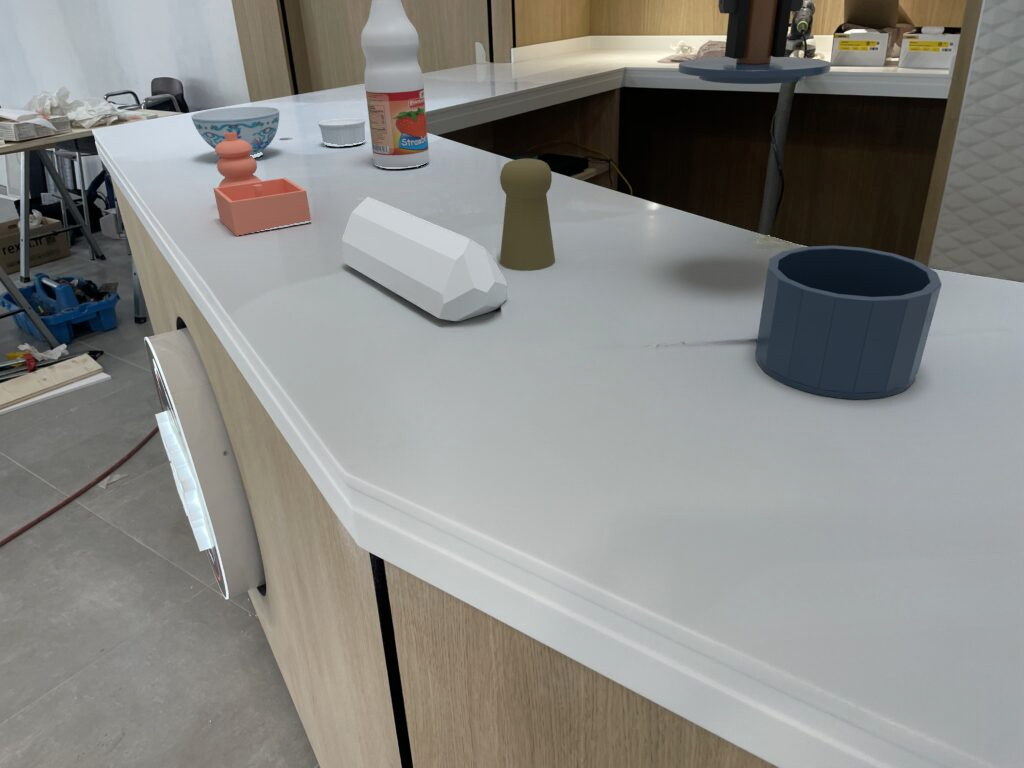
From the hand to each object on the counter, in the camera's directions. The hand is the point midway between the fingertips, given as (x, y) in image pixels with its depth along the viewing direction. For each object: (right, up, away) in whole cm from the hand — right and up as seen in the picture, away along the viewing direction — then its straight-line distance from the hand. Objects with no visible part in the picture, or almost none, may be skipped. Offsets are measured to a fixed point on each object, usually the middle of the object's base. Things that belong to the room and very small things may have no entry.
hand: (754, 55), depth 62 cm
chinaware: (-70, +14, +72) cm, 102 cm away
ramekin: (-53, +19, +81) cm, 99 cm away
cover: (0, -1, +1) cm, 1 cm away
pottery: (-55, -5, +37) cm, 67 cm away
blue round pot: (+4, -26, -6) cm, 27 cm away
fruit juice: (-39, +9, +63) cm, 75 cm away
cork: (-19, -15, +16) cm, 29 cm away
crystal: (-30, -18, +11) cm, 37 cm away
